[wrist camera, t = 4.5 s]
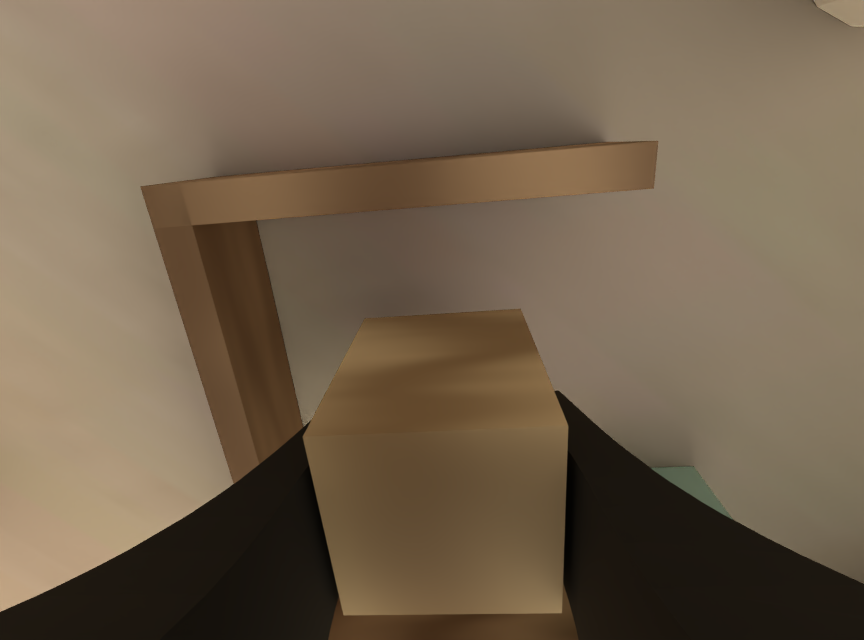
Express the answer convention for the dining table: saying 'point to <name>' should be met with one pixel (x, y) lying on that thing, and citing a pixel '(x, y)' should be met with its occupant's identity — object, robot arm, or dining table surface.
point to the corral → (259, 325)
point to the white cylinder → (844, 10)
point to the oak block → (442, 468)
